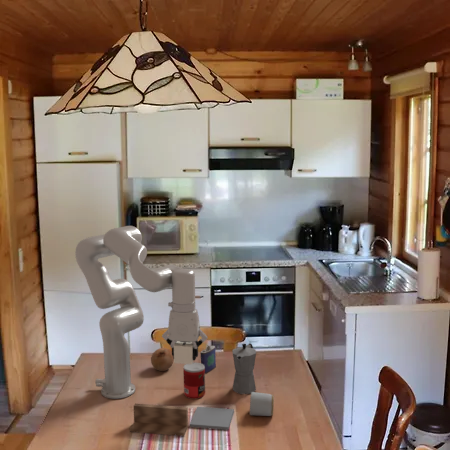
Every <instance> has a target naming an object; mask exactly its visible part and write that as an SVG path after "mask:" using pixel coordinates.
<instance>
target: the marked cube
mask: <svg viewBox="0 0 450 450" xmlns="http://www.w3.org/2000/svg"><path fill="white" fill-rule="evenodd" d="M194 361H195V360H193V344H192V342H183V341H177V342H176V343H175V345H174V361H173V364H181V365H185V364H192V363H193V362H194Z"/></svg>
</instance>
